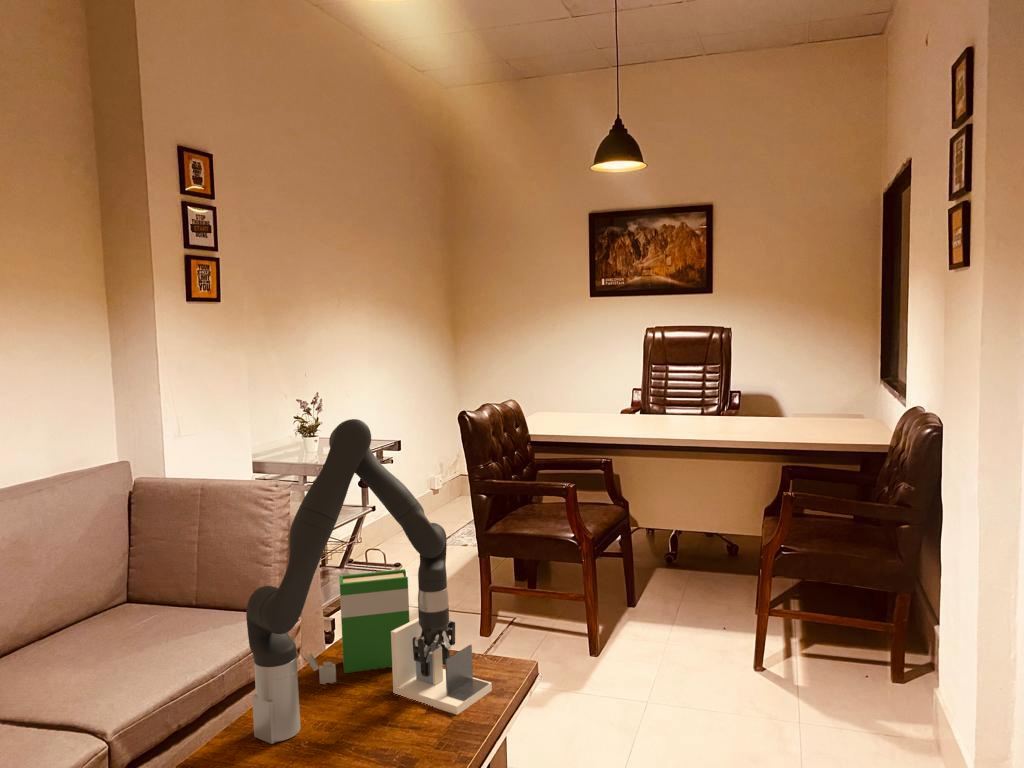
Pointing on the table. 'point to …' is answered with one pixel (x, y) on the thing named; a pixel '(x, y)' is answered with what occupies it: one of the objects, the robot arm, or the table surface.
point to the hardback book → (371, 617)
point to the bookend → (461, 675)
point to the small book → (432, 667)
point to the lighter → (323, 670)
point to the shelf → (417, 689)
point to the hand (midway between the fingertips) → (435, 669)
